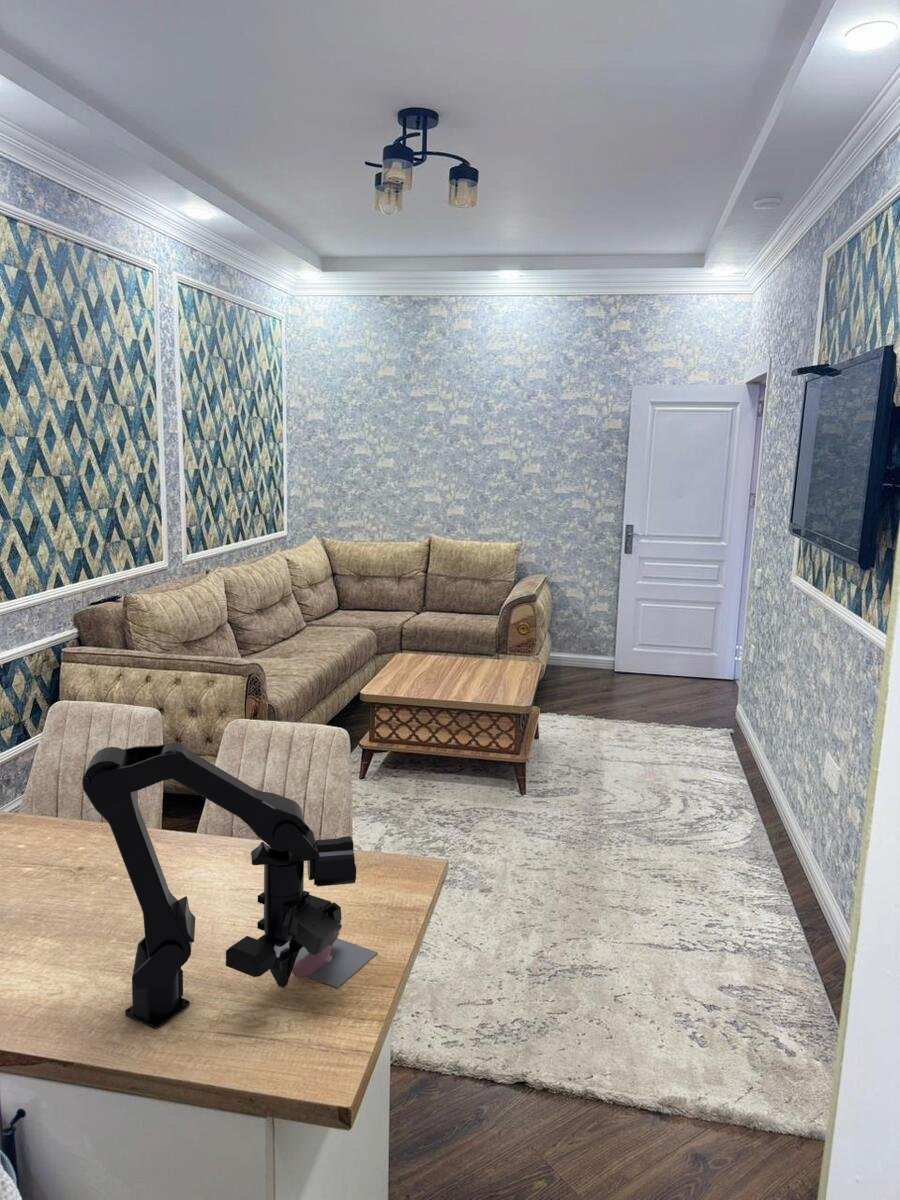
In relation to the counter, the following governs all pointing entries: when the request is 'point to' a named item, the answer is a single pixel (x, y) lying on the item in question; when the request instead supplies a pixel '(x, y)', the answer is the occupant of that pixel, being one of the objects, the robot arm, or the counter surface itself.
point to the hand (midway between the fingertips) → (282, 985)
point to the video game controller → (313, 961)
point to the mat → (340, 962)
